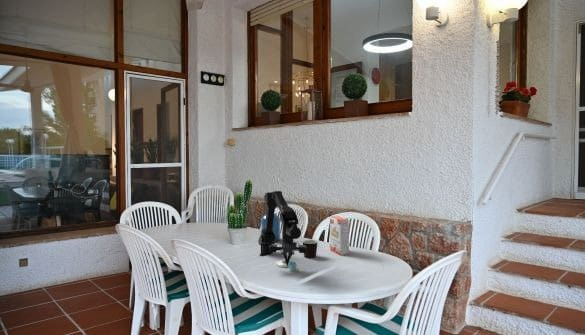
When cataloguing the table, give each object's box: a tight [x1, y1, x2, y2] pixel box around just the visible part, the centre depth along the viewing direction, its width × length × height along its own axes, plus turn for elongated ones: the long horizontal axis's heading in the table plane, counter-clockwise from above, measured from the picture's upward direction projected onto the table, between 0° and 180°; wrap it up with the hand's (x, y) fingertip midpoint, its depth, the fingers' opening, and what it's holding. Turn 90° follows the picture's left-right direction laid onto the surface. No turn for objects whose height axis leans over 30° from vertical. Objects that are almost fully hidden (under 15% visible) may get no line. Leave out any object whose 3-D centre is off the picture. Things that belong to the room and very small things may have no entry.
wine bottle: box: [260, 213, 281, 242], centre depth 260 cm, size 14×13×30 cm
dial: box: [275, 258, 297, 272], centre depth 196 cm, size 16×10×4 cm, turn 24°
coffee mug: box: [302, 239, 319, 259], centre depth 215 cm, size 12×9×10 cm
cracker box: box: [329, 215, 350, 256], centre depth 228 cm, size 14×6×21 cm, turn 21°
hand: (287, 265), depth 191 cm, fingers closed
